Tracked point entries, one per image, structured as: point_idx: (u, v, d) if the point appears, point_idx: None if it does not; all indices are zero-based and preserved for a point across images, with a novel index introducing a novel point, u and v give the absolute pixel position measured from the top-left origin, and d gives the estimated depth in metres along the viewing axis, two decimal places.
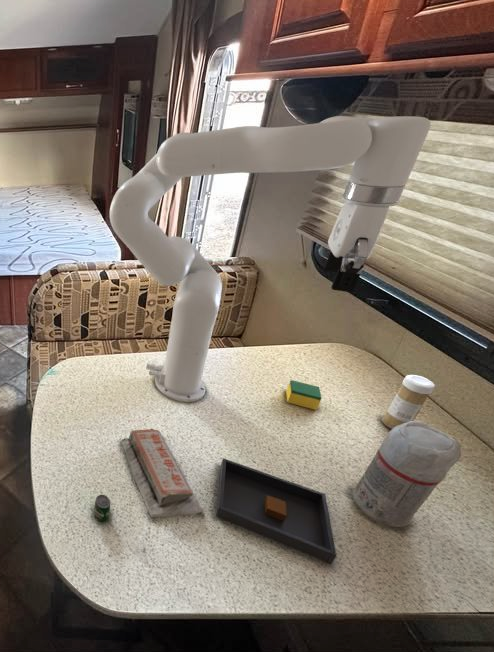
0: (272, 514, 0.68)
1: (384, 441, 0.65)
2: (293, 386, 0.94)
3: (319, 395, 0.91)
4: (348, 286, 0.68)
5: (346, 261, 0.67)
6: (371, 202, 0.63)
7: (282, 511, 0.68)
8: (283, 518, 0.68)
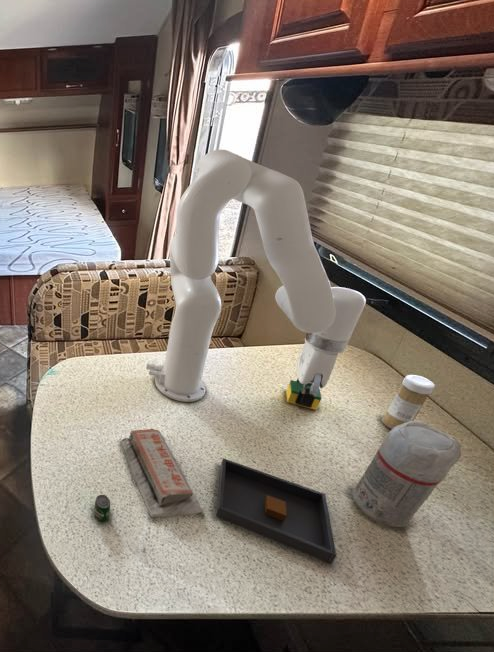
0: (272, 514, 0.68)
1: (384, 441, 0.65)
2: (293, 386, 0.94)
3: (319, 395, 0.91)
4: (307, 403, 0.91)
5: (305, 387, 0.89)
6: (324, 349, 0.84)
7: (282, 511, 0.68)
8: (283, 518, 0.68)
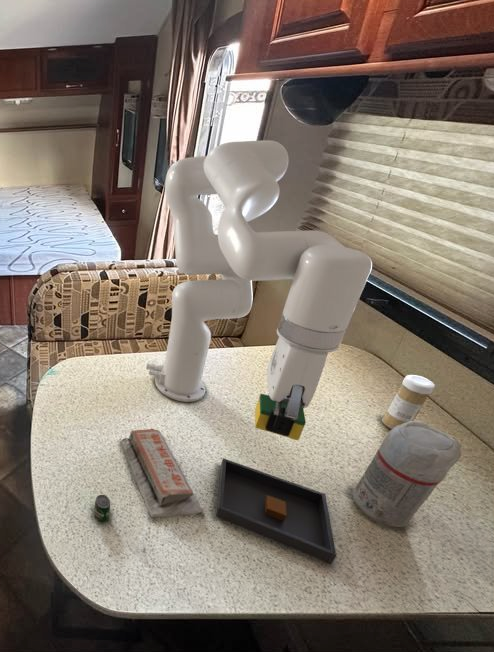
0: (272, 514, 0.68)
1: (384, 441, 0.65)
2: (264, 403, 0.62)
3: (302, 418, 0.59)
4: (282, 431, 0.59)
5: (279, 406, 0.58)
6: (307, 346, 0.52)
7: (282, 511, 0.68)
8: (283, 518, 0.68)
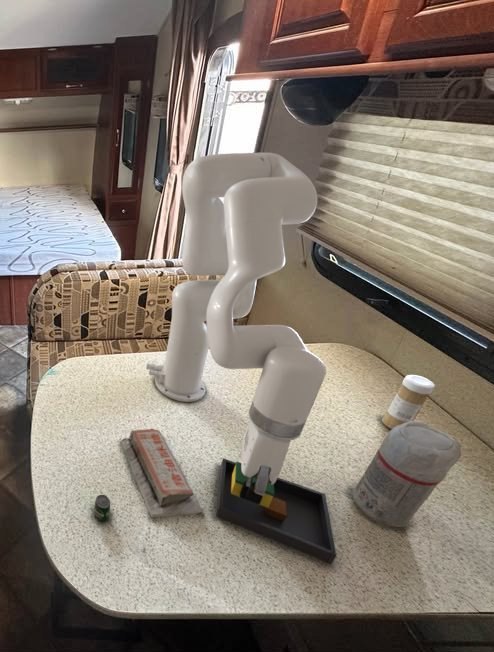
0: (272, 514, 0.68)
1: (384, 441, 0.65)
2: (238, 472, 0.69)
3: (271, 489, 0.66)
4: (254, 500, 0.66)
5: (250, 480, 0.65)
6: (272, 434, 0.59)
7: (282, 511, 0.68)
8: (283, 518, 0.68)
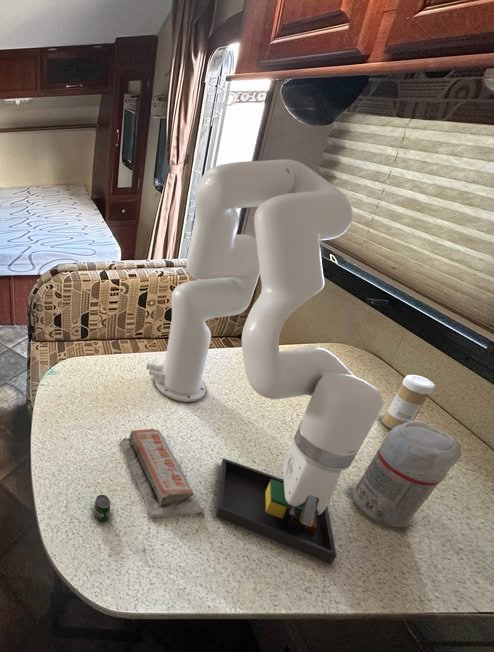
0: None
1: (384, 441, 0.65)
2: (274, 491, 0.67)
3: None
4: (297, 528, 0.64)
5: (294, 508, 0.63)
6: (321, 464, 0.57)
7: (312, 523, 0.66)
8: (313, 530, 0.65)
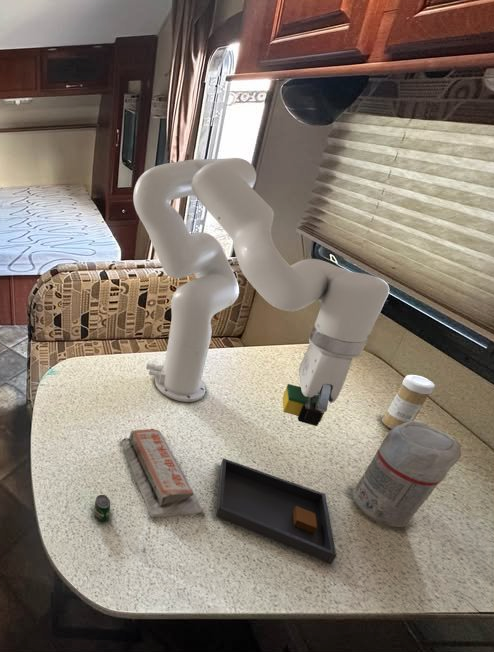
0: (301, 526, 0.66)
1: (384, 441, 0.65)
2: (291, 392, 0.75)
3: None
4: (312, 421, 0.72)
5: (310, 401, 0.71)
6: (335, 353, 0.65)
7: (312, 523, 0.66)
8: (313, 530, 0.65)
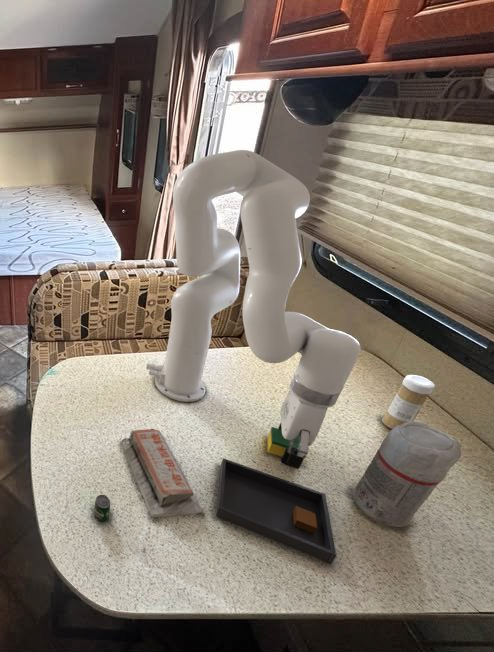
0: (301, 526, 0.66)
1: (384, 441, 0.65)
2: (274, 435, 0.81)
3: None
4: (294, 465, 0.76)
5: (292, 445, 0.75)
6: (312, 402, 0.71)
7: (312, 523, 0.66)
8: (313, 530, 0.65)
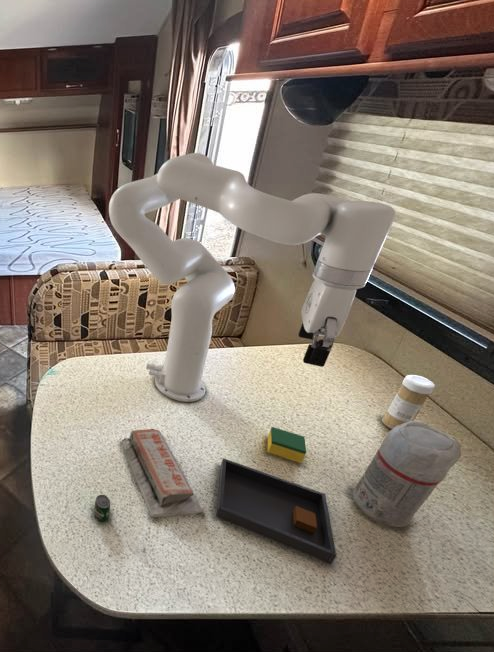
0: (301, 526, 0.66)
1: (384, 441, 0.65)
2: (274, 435, 0.81)
3: (304, 448, 0.77)
4: (319, 361, 0.69)
5: (316, 338, 0.68)
6: (339, 284, 0.64)
7: (312, 523, 0.66)
8: (313, 530, 0.65)
